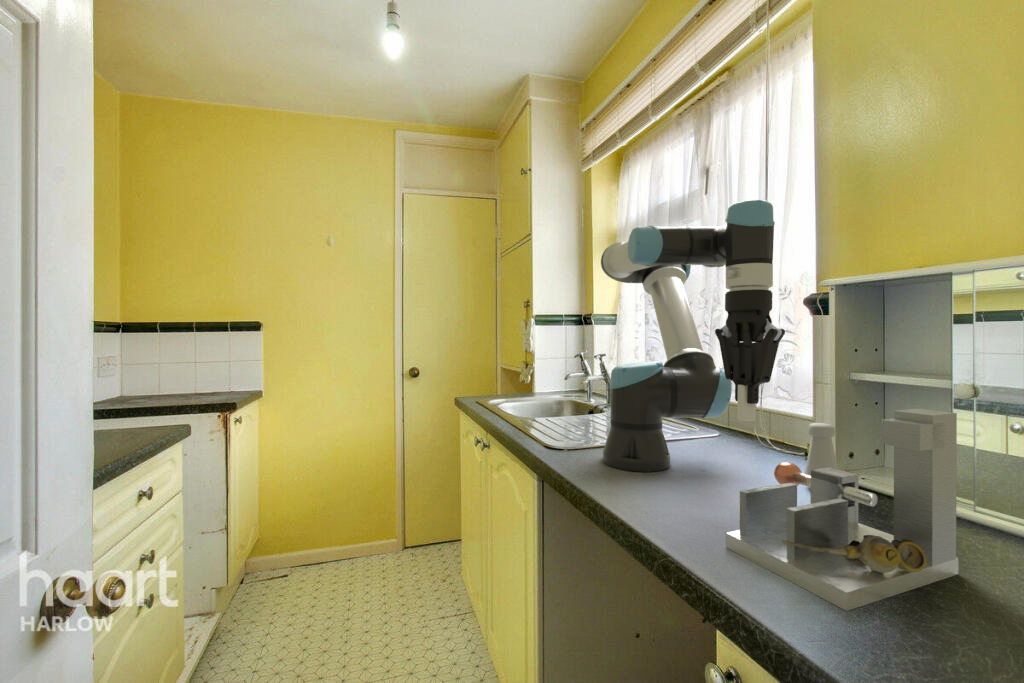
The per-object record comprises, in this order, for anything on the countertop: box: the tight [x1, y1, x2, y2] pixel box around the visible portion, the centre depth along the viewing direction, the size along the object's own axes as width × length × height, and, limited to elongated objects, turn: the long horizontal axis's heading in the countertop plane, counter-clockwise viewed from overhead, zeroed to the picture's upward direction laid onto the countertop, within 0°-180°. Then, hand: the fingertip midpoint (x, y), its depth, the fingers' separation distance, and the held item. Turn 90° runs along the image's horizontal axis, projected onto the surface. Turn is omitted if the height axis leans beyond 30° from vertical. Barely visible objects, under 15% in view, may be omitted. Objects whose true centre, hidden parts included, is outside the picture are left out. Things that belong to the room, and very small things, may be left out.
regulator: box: [782, 535, 927, 573], centre depth 54 cm, size 8×4×15 cm
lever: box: [773, 461, 878, 508], centre depth 69 cm, size 14×4×4 cm, turn 21°
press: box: [725, 408, 959, 612], centre depth 59 cm, size 16×21×20 cm
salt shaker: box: [804, 422, 839, 491], centre depth 86 cm, size 6×6×13 cm
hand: (746, 420), depth 81 cm, fingers closed
